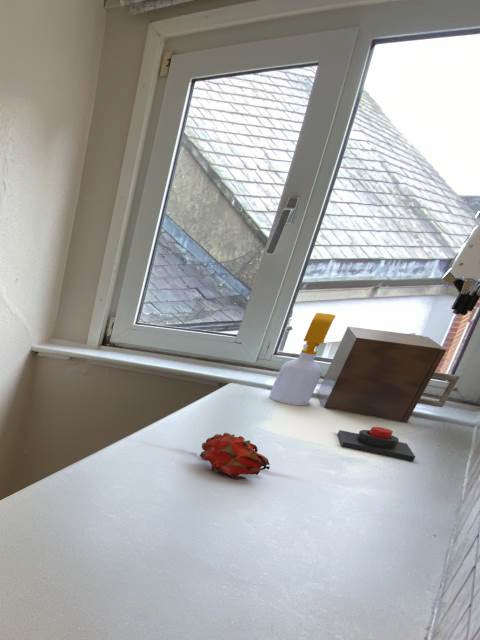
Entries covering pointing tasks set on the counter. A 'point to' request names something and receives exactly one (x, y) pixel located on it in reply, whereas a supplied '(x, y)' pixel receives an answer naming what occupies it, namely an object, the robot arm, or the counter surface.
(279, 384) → the soap bottle
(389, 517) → the counter surface
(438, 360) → the door
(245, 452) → the dragon fruit
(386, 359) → the cupboard
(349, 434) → the red and black buzzer
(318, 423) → the counter surface
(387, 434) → the button
